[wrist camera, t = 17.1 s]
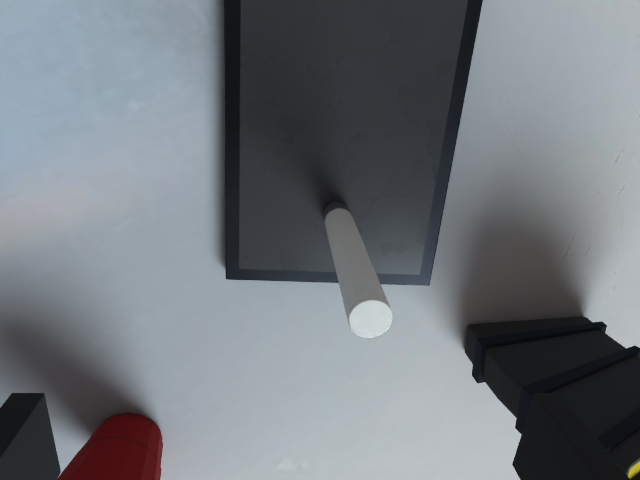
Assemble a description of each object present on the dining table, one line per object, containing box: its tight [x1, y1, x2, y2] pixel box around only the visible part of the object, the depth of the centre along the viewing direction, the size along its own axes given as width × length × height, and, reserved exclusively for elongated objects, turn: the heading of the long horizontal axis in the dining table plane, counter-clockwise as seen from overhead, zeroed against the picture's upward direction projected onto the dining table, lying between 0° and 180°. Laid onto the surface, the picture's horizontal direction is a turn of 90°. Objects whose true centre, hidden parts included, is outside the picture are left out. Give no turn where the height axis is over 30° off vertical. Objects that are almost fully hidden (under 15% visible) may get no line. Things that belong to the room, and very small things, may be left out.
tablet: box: [224, 0, 483, 285], centre depth 32 cm, size 22×16×1 cm
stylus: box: [323, 202, 393, 338], centre depth 27 cm, size 2×2×14 cm
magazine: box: [465, 317, 640, 480], centre depth 35 cm, size 4×13×15 cm, turn 92°
